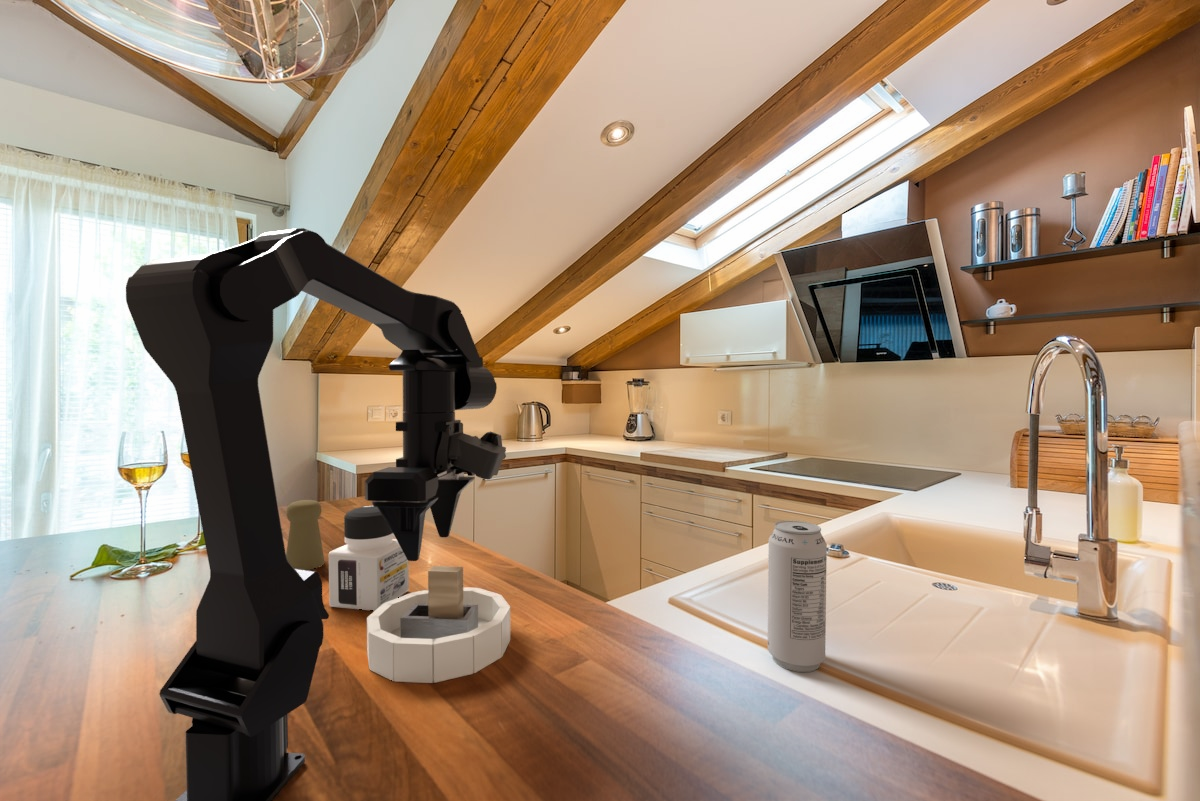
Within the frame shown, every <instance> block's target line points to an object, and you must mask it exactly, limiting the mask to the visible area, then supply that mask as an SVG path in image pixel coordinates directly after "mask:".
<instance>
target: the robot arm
mask: <svg viewBox="0 0 1200 801" xmlns="http://www.w3.org/2000/svg"><path fill="white" fill-rule="evenodd" d="M301 292H304V293H305V294H308V295H310V296H311V297H315V298H317V299H319V300H321V301H322V302H325V303H326V304H330V305H332V306H334V307H336V308H338V309H340V310H343V311H345V312H347V313H349V314H350V315H354V316H356V317H358V318H360V319H362V320H364V321H367V322H369V323H371V324H373V325H374V326H376V327H378V328H379V329H380V330H381V333H382V336H383V337H384V338H385V340H387V341H388V342H389V343H390V344H392V345H394V346H396V347H397V348H398V349H399V350H401V353H400V354H399V356H398V357H396V358H395V359H394V360H392V362H390V363H389V365H388V370H389V371H391V372H402V420H401V421H395V432H402V457H399V458H396V459H395V466H388V467H385V468H382V469H378V470H375V471H373V472H372V473H371V474H370V475H369V476H368V477H367V478H366V479H365V480H364V500H365V501H370V502H371V503H372V506H374V507H378V509H379V511H380V512H381V514H382V515H383V517H384V519H385V520H386V522H387V523H388V525H389V527H390V528H391V530H392V532H393V534H394V538H395V539H397V541H398V543H399V545H400V547H401V549H402V551H403V552H404V554H405V556H406V558H407V560H408V561H409V562H417V561H419V559H420V555H421V549H422V542H423V535H424V534H423V533H424V526H425V518H426V513H427V511H428V510H429V509H430V511H431V514H432V518H433V523H434V525H435V529H436V531H437V534H438V536H439V537H440V538H448V537H449V536H450V533H451V530H452V526H453V522H454V519H455V515H456V511H457V507H458V503H459V500H460V496H461V493H462V491H463V490H464V489H466V488H467V486H468V485H470V484H471V483H472V482H473V481H474V480H475V477H477V478H481V479H483V480H491V479H492V478H493V477H495V476H497V475H498V473H499V471H500V468H501V465H502V463H503V461H504V460H505V459H506V457H507V455H506V452H507V447H506V446H503V441H502V435H501V434H498V433H496V432H494V431H488V432H485V433H484V435H482V436H481V437H480V438H479V437H478V436H477V435H473V436H472V435H470V434H467V433H464V423H463V422H461V419H456V411H463V410H478V409H483V408H485V407H488V406H489V405H490V404H491V403H492V402H493V400H494V399H495V397H496V395H497V394H496V393H497V381H496V380H495V377H494V374H492V372H491V371H490V370H489V369H488V368H486V367H485V366H484V359H483V357H482V356H480V354H479V351H478V349H477V347H476V345H475V342H474V339H473V336H472V334H471V332H470V329H469V327H468V325H467V321H466V319H465V317H464V315H463V313H462V310H461V309H460V307H459V306H458V305H457V304H456V303H455V302H454V301H452V300H449V299H447V298H442V297H440V296H437V295H432V294H426V293H419V292H413V291H410V290H408V289H406V288H404V287H402V286H400V285H399V284H397V283H395V282H393V281H392V280H390V279H388V278H387V277H385V276H383V275H382V274H380V273H379V272H376V271H374V270H373V269H371V268H369V267H368V266H366V265H364V264H362V263H360V262H359V261H357V260H356V259H354V258H353V257H351V256H349V255H347V254H346V253H344V252H342V251H341V250H339V249H337V248H335V247H334V246H332V245H330V244H329V243H327V242H326V240H325V239H324V238H323V237H322V236H321V235H320V234H318V233H317V232H315V231H313V230H309V229H306V228H304V227H302V228H291V229H290V228H289V229H283V230H274V231H267V232H263V233H261V234H260V235H258V236H257V237H254V238H253V239H250V240H248V241H244V242H242V243H240V244H236V245H233V246H230V247H227V248H224V249H221V250H217V251H214V252H211V253H203V254H197V255H188V256H179V257H168V258H160V259H152V260H151V261H148V262H146V263H144V264H141V266H139V268H138V269H137V270H136V271H135V272H134V273H133V275H132V276H129V277H128V279H127V281H126V285H125V300H126V305H127V308H128V310H129V313H130V315H131V318H132V320H133V322H134V325H135V328H136V330H137V333H138V336H139V338H140V341H141V343H142V346H143V348H144V350H145V351H146V353H148V354H149V356H150V358H151V359H152V360H153V361H154V362H155V363H156V365H157V366H158V367H159V368H160V370H161V371H162V372H163V374H164V375H165V376H166V377H167V379H168V380H169V381H170V383H172V385H173V387H174V390H175V391H176V392H175V393H176V396H177V402H178V406H179V412H180V418H181V423H182V428H183V434H184V439H185V445H186V449H187V454H188V460H189V465H190V470H191V476H192V481H193V486H194V492H195V497H196V502H197V508H198V512H199V518H200V523H201V529H202V534H203V539H204V545H205V549H206V554H207V555H206V556H207V561H208V566H209V571H210V572H209V580H208V583H207V584H206V587H205V589H204V592H203V593H202V597H201V598H200V601H199V603H198V605H197V608H196V611H195V612H196V613H195V616H196V617H195V618H196V620H195V622H196V623H195V624H196V625H195V626H196V627H195V629H196V631H195V632H196V634H195V636H196V640H195V641H194V643H193V644H192V646H191V647H190V649H188V651H187V652H186V654H185V656H184V657H183V658H182V660H180V662H179V664H178V665H177V666H176V668H175V669H174V670H173V672H172V673H171V675H170V676H169V678H168V679H167V680H166V682H165V683H164V684H163V686H162V687H161V689H160V691H159V694H158V695H159V697H160V699H161V700H162V703H163V704H164V706H165V709H166V710H167V712H168V713H170V714H173V715H176V714H178V715H181V716H186V717H188V718H191V726H190V727H189V728H188V729H186V730H185V763H186V764H185V765H186V766H185V767H186V768H185V769H186V774H185V775H186V790H185V791H184V792H183V793H182V794H181V795H179V796H178V797H177V799H175V800H174V801H272V800H273V799H274V797H275V796H276V795H277V794H278V793H279V792H280V791H281V790H282V788H283V787H284V786H285V785H286V784H287V783H288V782H289V780H290V779H291V778H293V776H294V775H295V774H296V772H297V771H298V770H299V769H300V768H301V767H302V766H303V765H304V763H305V762H306V754H305V753H302V752H300V753H299V752H288V748H289V731H288V730H289V728H288V727H289V724H288V722H289V720H288V714H290V713H292V712H293V711H294V710H296V709H297V708H299V707H301V706H303V705H304V704H305V703H306V702H307V700H308V696H309V692H310V689H311V684H312V681H313V677H314V673H315V668H316V665H317V661H318V656H319V652H320V649H321V647H322V645H323V641H324V637H325V636H324V621H323V620H328V619H329V617H330V615H329V612H327V609H326V608H325V604H324V601H323V580H322V579H321V576H320V573H319V572H318V571H313V570H301V569H295V568H293V566H292V565H291V564H290V563H289V561H288V559H287V556H286V547H285V542H284V536H283V529H282V522H281V518H280V517H281V516H280V509H279V504H278V500H277V498H278V497H277V492H276V487H275V479H274V474H273V468H272V466H273V465H272V461H271V456H270V455H271V454H270V449H269V444H268V438H267V431H266V423H265V418H264V413H263V406H262V400H261V399H262V398H261V393H260V387H259V379H260V378H259V377H260V374H261V371H262V369H263V366H264V364H265V362H266V359H267V357H268V354H269V352H270V350H271V348H272V346H273V342H274V310H275V309H277V308H279V307H281V306H282V305H284V304H286V303H288V302H289V301H291V300H292V299H295V298H296V297H297V296H299V294H301ZM465 474H467V476H465Z"/></svg>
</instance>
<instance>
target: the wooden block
mask: <svg viewBox="0 0 1200 801" xmlns="http://www.w3.org/2000/svg"><path fill="white" fill-rule="evenodd" d="M427 584H428V585H427V586H428V587H427V590H428V617H461V618H463V587H464V567H463V566H449V565H448V566H447V565H444V566H443V565H434V566H432V567H431V568H430V569H429V570H427Z"/></svg>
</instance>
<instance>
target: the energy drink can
mask: <svg viewBox="0 0 1200 801" xmlns="http://www.w3.org/2000/svg"><path fill="white" fill-rule="evenodd" d="M821 531H822V528H821V526H819V525H817V524H815V523H812V522H807V521H800V520H783V521H777V522H775V523H774V529H773V530H772V533H771V534H770V536H769V537H768V554H767V555H768V558H767V559H768V560H767V561H768V568H767V569H768V572H767V577H768V578H767V581H768V582H767V651H768V653H769V654H770V655H771V656H772V657H771V658H772V660H773V661H774V663H775V664H776V665H778V666H780V667H781V668H783V669H786V670H790V671H792V672H796V673H797V672H799V673H809V672H815V671H816V670H817V669H818V668H820V666H821V664H822V662H824V661H825V659H826V636H827V635H826V631H827V630H826V624H827V622H826V621H827V559H828V558H827V557H828V556H827V552H828V551H827V549H828V548H827V545H828V544H827V542H826V540H825V538H824V536H823V534H822V533H821Z"/></svg>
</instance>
